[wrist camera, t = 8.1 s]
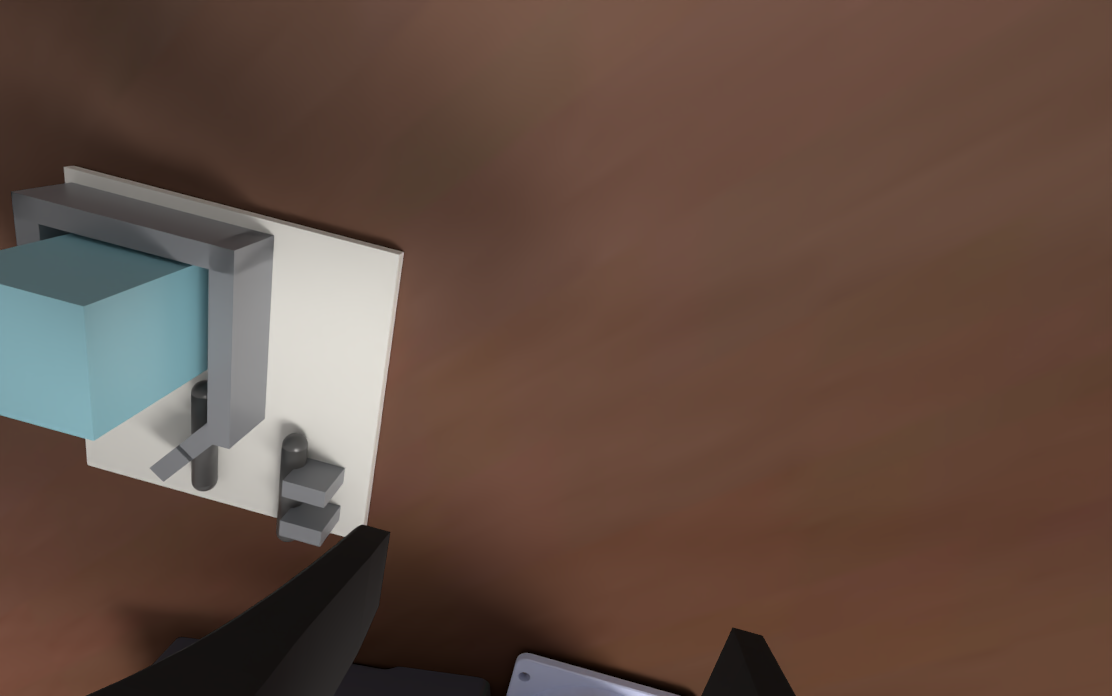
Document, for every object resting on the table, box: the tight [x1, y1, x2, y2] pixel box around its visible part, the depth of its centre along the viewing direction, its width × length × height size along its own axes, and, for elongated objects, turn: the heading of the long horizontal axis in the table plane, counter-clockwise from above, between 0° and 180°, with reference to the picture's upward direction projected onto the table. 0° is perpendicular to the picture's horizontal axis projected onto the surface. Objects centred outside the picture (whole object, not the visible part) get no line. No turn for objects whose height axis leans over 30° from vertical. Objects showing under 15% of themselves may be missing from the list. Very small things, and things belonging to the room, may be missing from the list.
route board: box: [64, 166, 404, 547], centre depth 23 cm, size 12×12×2 cm
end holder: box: [11, 182, 274, 449], centre depth 22 cm, size 7×7×3 cm
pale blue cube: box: [0, 233, 209, 441], centre depth 20 cm, size 5×4×6 cm
